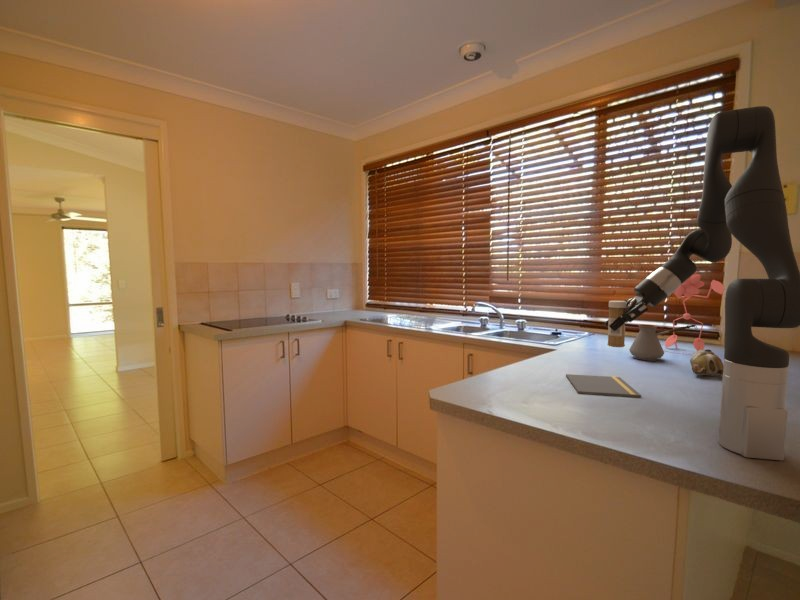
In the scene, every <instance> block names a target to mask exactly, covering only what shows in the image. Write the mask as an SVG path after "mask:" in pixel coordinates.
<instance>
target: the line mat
mask: <svg viewBox="0 0 800 600" xmlns="http://www.w3.org/2000/svg"><path fill="white" fill-rule="evenodd" d="M565 377H566V378H567V379H568V382H570V384H571V385H572V387H573V388H574V390H575V391H576V393H578V394H583V395H584V394H585V395H597V396H599V395H600V396H601V395H602V396H615V397H629V398H631V397H632V398H642V394H640V393H639V392H638V391H637V390H636V389H634V387H632V386H631V385H630V384H629V383H627V382H626V381H625V380H624V379H622V377H620V376H613V375H611V376H604V375H587V374H586V375H584V374H571V373H569V374H565Z"/></svg>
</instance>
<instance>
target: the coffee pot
mask: <svg viewBox="0 0 800 600" xmlns="http://www.w3.org/2000/svg"><path fill="white" fill-rule="evenodd" d="M637 327H639V332H638V333H637V335H636V336H635V338H634V340H633V341H632V344H631V346H630V348H629V349H628V350H629V353H630V354H631V355H632V356H633V357H634V359H637V360H641V361H642V360H643V361H648V362H649V361H653V362H655V361H658V360H659V359H661V358H662V357H664V355H665V350H664V348H663V345H662V344H661V342H660V339H659V338H658V336H661V335H664V334H668V333H669V334H670V333H673V332H674V333H676V332H680V331H684V330H686V329H690V328H694V330H696V331H698V326H697V325H696V324H690V325H689V324H688V325H686V326H679V327H676V328H675V327H674V329H673V328H672V329H670V330H665V331H660V332H656V330H657V328H658V327H659V326H658V325H653V324H638V325H637Z"/></svg>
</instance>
